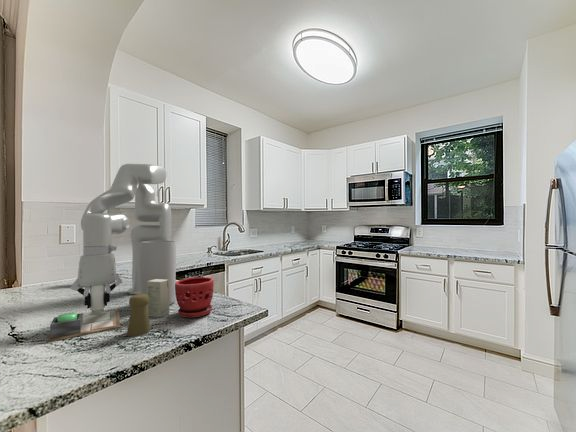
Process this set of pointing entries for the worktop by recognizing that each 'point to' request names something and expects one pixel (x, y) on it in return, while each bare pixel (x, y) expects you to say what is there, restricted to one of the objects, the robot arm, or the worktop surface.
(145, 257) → the cylinder vase
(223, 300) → the worktop surface
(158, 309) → the skincare box
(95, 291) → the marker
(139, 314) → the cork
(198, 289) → the plant pot
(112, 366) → the worktop surface
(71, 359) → the worktop surface
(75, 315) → the button
